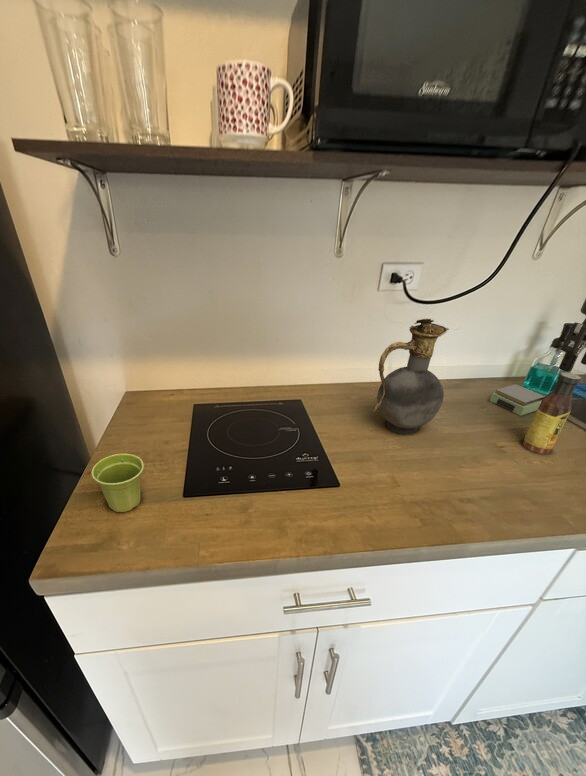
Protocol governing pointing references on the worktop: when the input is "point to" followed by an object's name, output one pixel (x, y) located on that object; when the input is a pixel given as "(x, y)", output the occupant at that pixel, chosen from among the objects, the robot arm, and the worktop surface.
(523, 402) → the scale platform
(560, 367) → the robot arm
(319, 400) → the worktop surface
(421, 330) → the pitcher
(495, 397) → the scale
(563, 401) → the sauce bottle
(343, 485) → the worktop surface
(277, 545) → the worktop surface
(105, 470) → the plant pot
